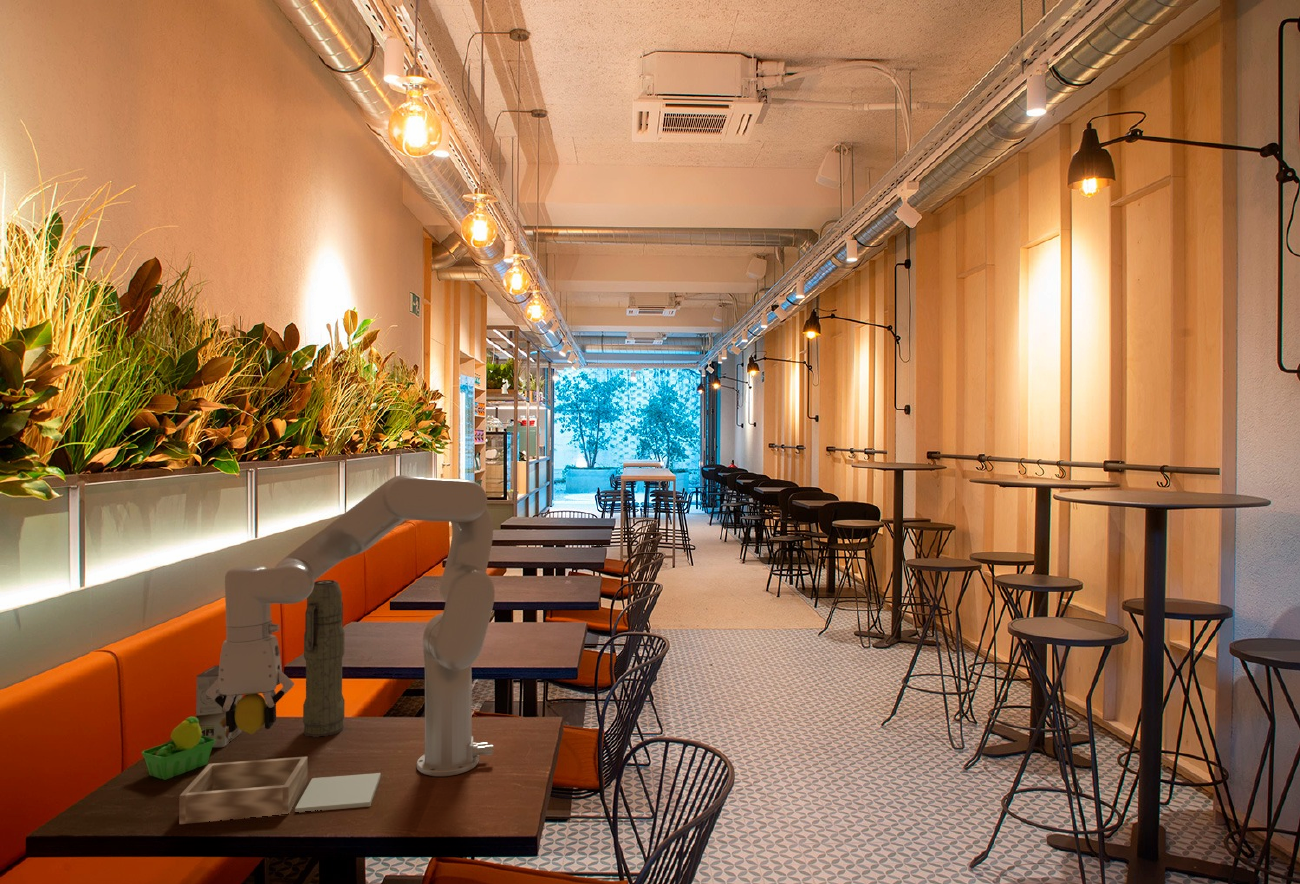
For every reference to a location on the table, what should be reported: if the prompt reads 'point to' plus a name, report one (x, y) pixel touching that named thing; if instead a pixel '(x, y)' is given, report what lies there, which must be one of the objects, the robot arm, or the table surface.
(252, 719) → the lemon
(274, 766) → the brown wooden tray
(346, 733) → the table surface
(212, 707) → the coffee box
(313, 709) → the thermos
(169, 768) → the fruit basket
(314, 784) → the board
